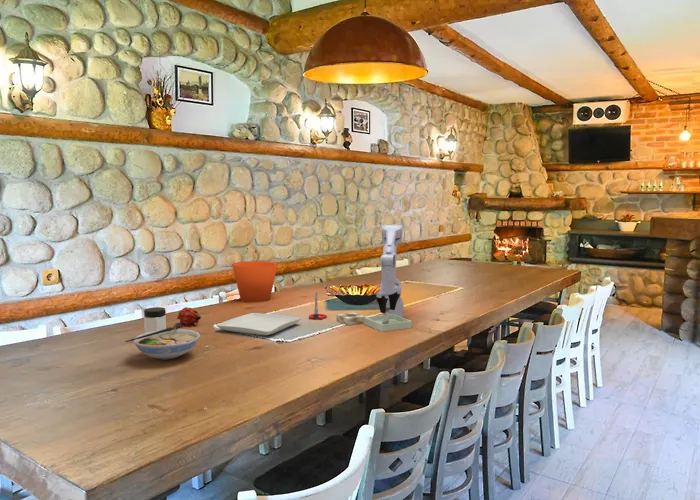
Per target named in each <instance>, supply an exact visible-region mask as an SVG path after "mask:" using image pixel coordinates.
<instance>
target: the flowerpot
mask: <svg viewBox="0 0 700 500" xmlns="http://www.w3.org/2000/svg"><path fill="white" fill-rule="evenodd" d="M278 264H279V263H278V262H274V261H267V260H266V261H265V260H263V261H262V260H253V261H252V260H249V261H248V260H247V261H237V262H233V263H231V267H232V270H233V271H232V272H233V274H234V279H235V281H236V282H235V284H236V287H237V290H238V291H237V292H238V294H239V295H238V296H239V298H240V301H241V302H245V303H262V302H263V303H264V302H268V301H270V300H271V296H272V292H273V288H274V283H275V278H276V273H277V269H278Z"/></svg>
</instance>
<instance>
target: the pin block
mask: <svg viewBox="0 0 700 500" xmlns="http://www.w3.org/2000/svg"><path fill="white" fill-rule="evenodd" d="M364 317H367V316H366V315H363V314H361V313H358V312H356V311H354V312H346V313H337V314H336V321H337V322H339V323H341V324H343V325H345V326H353V325H361V324H364Z"/></svg>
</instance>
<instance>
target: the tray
mask: <svg viewBox="0 0 700 500" xmlns="http://www.w3.org/2000/svg"><path fill="white" fill-rule="evenodd" d="M363 324H364V325H366V326H368V327H370V328H372V329H375V330H377V331H378V332H383V333H384V332H390V331H397V330H405V329H411V328H413V320H410V319H407V318H405V317H400V316H397V315H394V314H389V324H382V315H380V314H379V315H374V316H366V317H364V323H363Z"/></svg>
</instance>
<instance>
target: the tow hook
mask: <svg viewBox="0 0 700 500" xmlns="http://www.w3.org/2000/svg"><path fill="white" fill-rule="evenodd" d="M318 299H319V297H318V291H315V296H314V309H313V311H314V313H312V314H309V315H308V320H316V319H318V320H320V321H322V320H324V319H326V318H327V317H328V315H326V314H324V313H319V312H318V311H319V307H318V301H319V300H318Z"/></svg>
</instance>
